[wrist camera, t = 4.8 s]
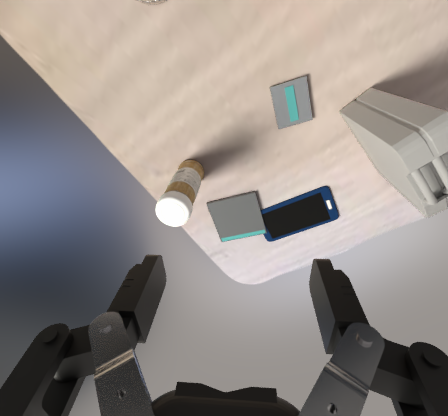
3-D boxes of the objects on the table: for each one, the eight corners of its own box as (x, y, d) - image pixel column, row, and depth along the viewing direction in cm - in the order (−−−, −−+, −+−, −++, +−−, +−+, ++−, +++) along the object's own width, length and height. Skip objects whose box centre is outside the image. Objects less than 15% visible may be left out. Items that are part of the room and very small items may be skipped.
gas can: (416, 165, 41) (601, 291, 20) (385, 183, 43) (521, 316, 22) (371, 85, 36) (555, 138, 14) (337, 110, 38) (455, 189, 16)
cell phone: (339, 216, 47) (340, 218, 46) (267, 240, 51) (267, 243, 51) (327, 183, 44) (328, 185, 43) (252, 212, 48) (252, 214, 48)
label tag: (269, 87, 37) (270, 87, 36) (305, 75, 36) (306, 76, 35) (278, 128, 39) (278, 129, 39) (311, 118, 38) (312, 119, 38)
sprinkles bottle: (183, 185, 46) (162, 230, 34) (174, 162, 44) (148, 201, 32) (208, 180, 45) (194, 224, 34) (200, 155, 43) (182, 194, 31)
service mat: (207, 202, 47) (206, 204, 47) (255, 191, 45) (255, 192, 45) (221, 240, 52) (221, 242, 51) (266, 231, 50) (266, 233, 49)
